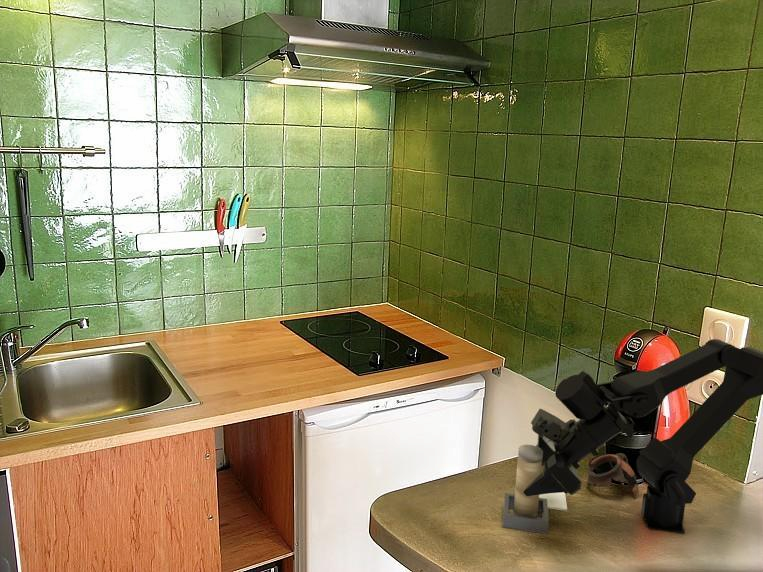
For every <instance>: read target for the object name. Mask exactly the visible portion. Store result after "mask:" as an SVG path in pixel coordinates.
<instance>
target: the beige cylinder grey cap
mask: <svg viewBox="0 0 763 572" xmlns="http://www.w3.org/2000/svg"><path fill="white" fill-rule="evenodd" d="M542 458H543V450H542V449H541V448H539V447H537V446H536V445H534V444H522V445H520V446H519V447H518V452H517V463H516V464H517V465H516V474H515V476H516V477H515V487H514V488H515V489H514V490H515V491H514V494H515V500H514V508H513V513H512V514H517V515H524V516H531V517H538V514H539V512H538V503H539V495H534V496H526V495H525V494H524V493H523V491H524V490H525V489H526V488H527V486H528V485H529V484H530V483H532V482H533V481H534V480H535V479H536V478H537V477H538V476H539V475H540V474H541V473H542V470H543V466H542Z"/></svg>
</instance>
